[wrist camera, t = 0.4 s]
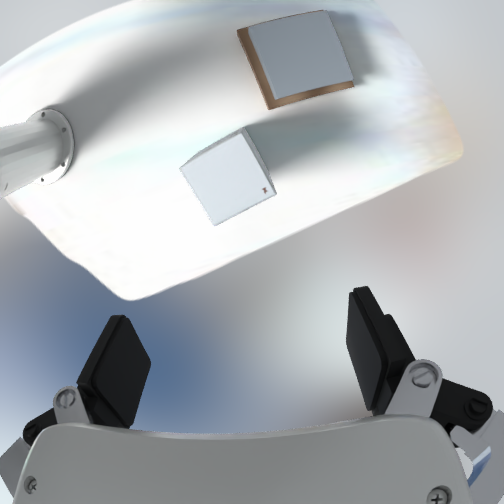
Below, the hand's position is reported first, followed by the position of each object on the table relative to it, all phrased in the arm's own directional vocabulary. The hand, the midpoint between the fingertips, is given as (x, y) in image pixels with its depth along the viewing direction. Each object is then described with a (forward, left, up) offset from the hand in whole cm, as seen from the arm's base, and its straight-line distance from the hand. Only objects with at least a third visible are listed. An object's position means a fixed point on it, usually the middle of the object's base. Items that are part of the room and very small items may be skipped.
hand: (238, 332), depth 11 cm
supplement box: (-1, +2, -32) cm, 32 cm away
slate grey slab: (+13, +13, -29) cm, 34 cm away
